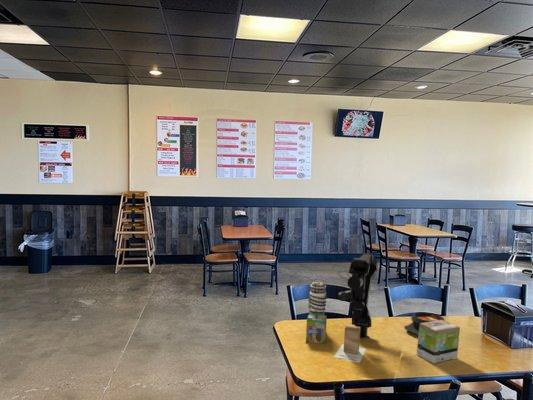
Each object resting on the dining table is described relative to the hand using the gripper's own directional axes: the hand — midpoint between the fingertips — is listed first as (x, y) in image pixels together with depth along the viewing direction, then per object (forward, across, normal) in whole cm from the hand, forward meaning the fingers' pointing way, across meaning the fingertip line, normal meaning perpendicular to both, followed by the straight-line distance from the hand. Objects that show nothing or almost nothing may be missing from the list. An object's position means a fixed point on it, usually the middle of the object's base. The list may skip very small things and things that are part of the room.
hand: (355, 320), depth 183 cm
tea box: (+13, -4, +36) cm, 39 cm away
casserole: (+10, -34, +37) cm, 51 cm away
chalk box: (+13, -4, -18) cm, 22 cm away
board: (+14, +7, -1) cm, 15 cm away
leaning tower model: (+12, -15, -19) cm, 27 cm away
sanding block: (+12, +6, -1) cm, 14 cm away
